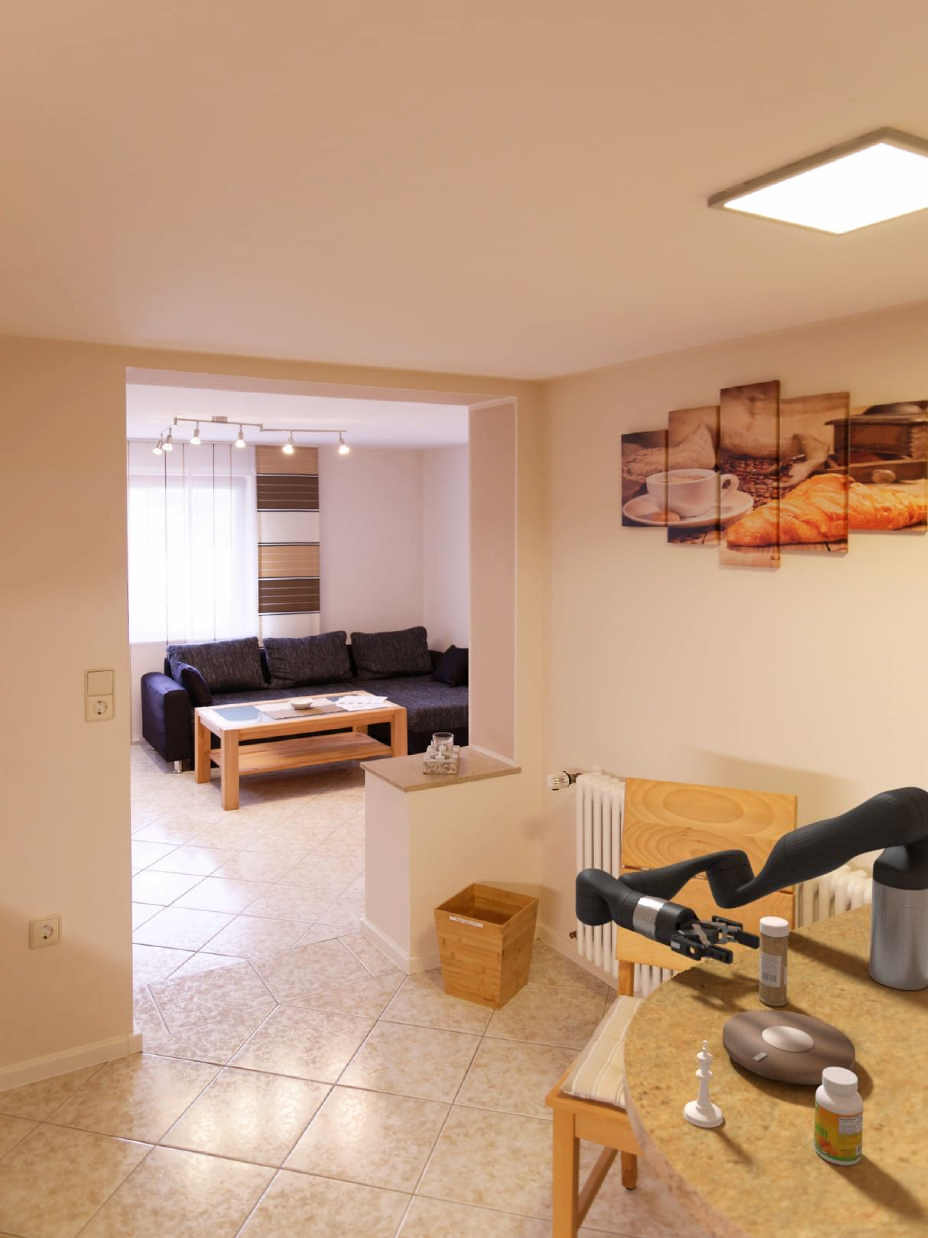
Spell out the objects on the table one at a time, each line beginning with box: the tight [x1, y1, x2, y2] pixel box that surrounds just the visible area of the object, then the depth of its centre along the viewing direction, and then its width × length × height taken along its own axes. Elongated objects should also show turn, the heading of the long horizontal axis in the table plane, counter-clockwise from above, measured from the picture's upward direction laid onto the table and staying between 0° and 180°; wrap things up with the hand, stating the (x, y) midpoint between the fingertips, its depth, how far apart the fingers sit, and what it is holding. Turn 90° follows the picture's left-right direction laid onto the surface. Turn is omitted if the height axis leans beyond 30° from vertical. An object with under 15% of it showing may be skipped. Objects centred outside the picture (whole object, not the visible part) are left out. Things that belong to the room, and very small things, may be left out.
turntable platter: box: [722, 1009, 856, 1086], centre depth 134 cm, size 18×18×2 cm
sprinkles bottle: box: [757, 916, 790, 1007], centre depth 152 cm, size 5×5×14 cm
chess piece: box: [683, 1039, 724, 1129], centre depth 120 cm, size 5×5×10 cm
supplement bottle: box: [813, 1067, 864, 1166], centre depth 113 cm, size 5×5×10 cm
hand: (745, 950), depth 155 cm, fingers open, 8 cm apart
